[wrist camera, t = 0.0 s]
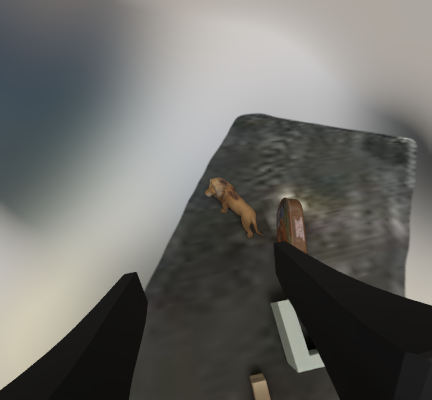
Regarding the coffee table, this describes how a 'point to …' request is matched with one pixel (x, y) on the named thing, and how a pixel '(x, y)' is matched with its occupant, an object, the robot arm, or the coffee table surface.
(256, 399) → the block
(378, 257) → the coffee table surface
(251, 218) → the lion figurine
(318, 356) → the box
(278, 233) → the tin
